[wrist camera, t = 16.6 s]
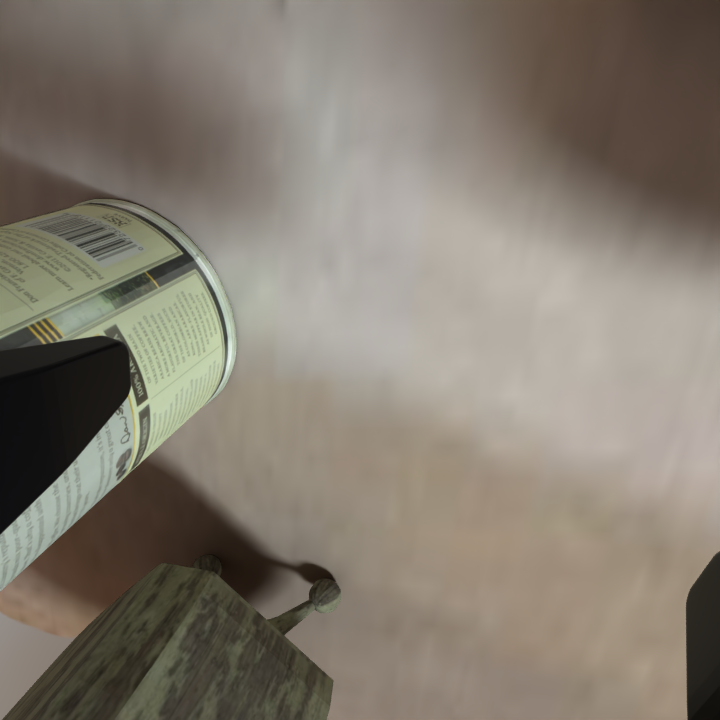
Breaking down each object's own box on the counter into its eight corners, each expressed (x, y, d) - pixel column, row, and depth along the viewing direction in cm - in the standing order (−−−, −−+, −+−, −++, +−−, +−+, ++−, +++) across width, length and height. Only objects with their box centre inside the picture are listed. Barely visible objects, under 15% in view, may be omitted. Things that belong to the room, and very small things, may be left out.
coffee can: (87, 407, 28) (-256, 642, 17) (11, 205, 24) (-526, 328, 12) (261, 421, 25) (-17, 732, 13) (208, 188, 21) (-278, 338, 9)
